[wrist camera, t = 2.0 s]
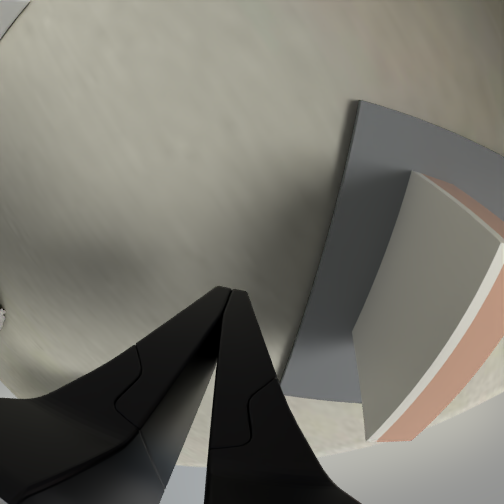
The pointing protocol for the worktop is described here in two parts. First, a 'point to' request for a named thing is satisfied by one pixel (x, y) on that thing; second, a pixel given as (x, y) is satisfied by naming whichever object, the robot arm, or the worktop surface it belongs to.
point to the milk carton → (10, 12)
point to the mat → (375, 236)
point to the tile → (429, 309)
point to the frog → (2, 317)
